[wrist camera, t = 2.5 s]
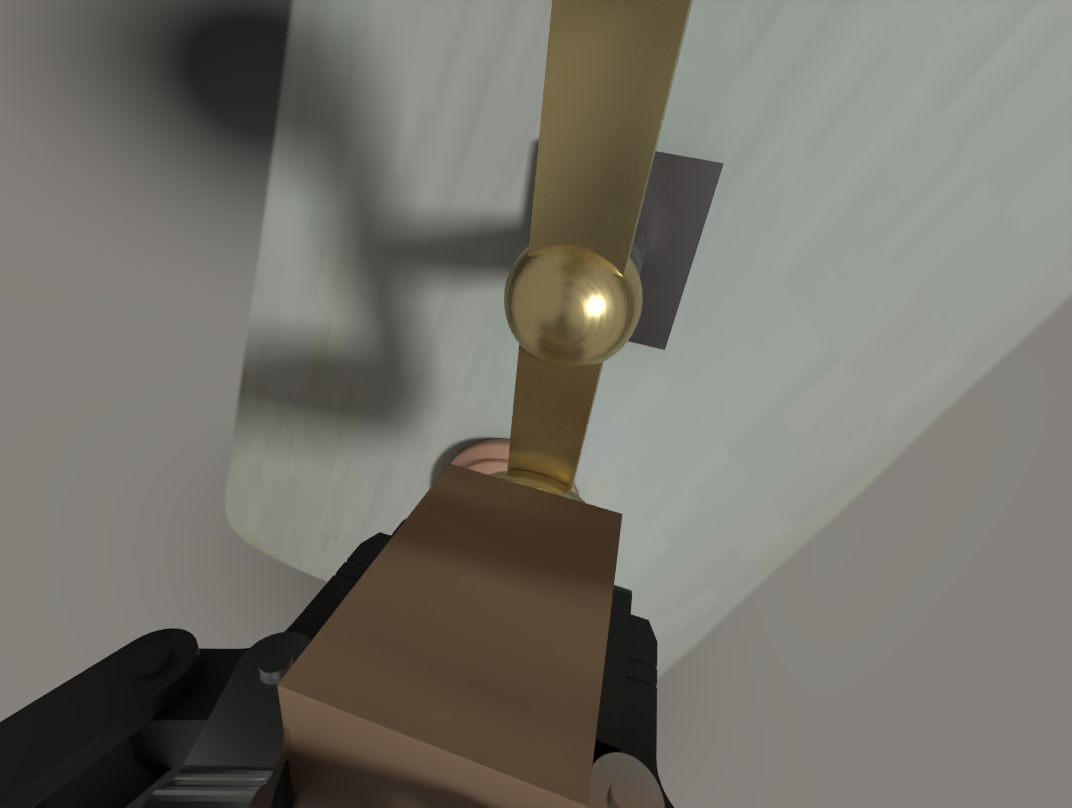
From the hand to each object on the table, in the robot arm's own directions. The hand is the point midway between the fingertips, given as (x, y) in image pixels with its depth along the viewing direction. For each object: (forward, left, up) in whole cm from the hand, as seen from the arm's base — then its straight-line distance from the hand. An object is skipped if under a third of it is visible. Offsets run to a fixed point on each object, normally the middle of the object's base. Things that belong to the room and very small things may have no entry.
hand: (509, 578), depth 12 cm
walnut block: (0, 0, -1) cm, 1 cm away
